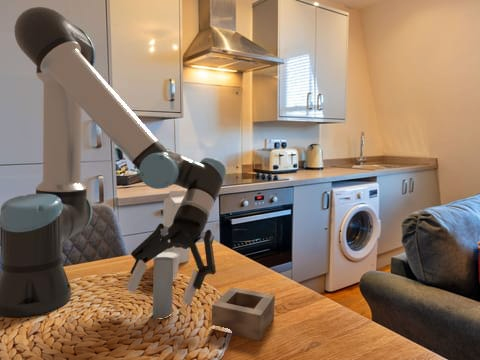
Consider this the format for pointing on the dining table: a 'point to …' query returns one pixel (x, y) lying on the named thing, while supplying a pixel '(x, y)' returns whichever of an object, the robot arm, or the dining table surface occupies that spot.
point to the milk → (168, 216)
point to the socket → (244, 312)
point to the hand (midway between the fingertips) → (157, 296)
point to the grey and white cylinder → (174, 256)
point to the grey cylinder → (162, 287)
